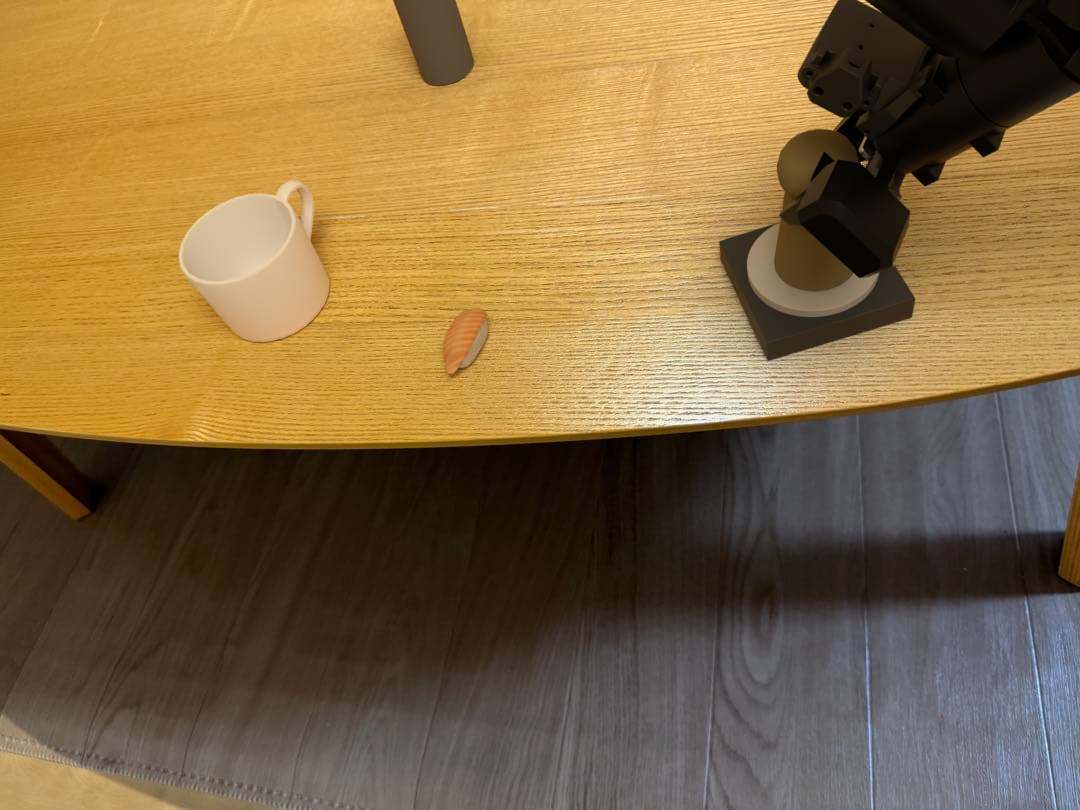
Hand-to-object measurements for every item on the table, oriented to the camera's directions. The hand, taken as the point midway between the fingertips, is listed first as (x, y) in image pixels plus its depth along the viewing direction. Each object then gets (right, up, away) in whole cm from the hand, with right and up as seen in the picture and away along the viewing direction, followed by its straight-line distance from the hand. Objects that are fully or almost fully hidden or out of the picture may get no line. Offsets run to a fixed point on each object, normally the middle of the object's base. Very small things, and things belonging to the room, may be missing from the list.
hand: (797, 192), depth 66 cm
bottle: (-28, +21, +34) cm, 48 cm away
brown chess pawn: (+3, -4, +5) cm, 7 cm away
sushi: (-24, -10, +11) cm, 28 cm away
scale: (+3, -6, +7) cm, 10 cm away
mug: (-41, -4, +20) cm, 45 cm away
